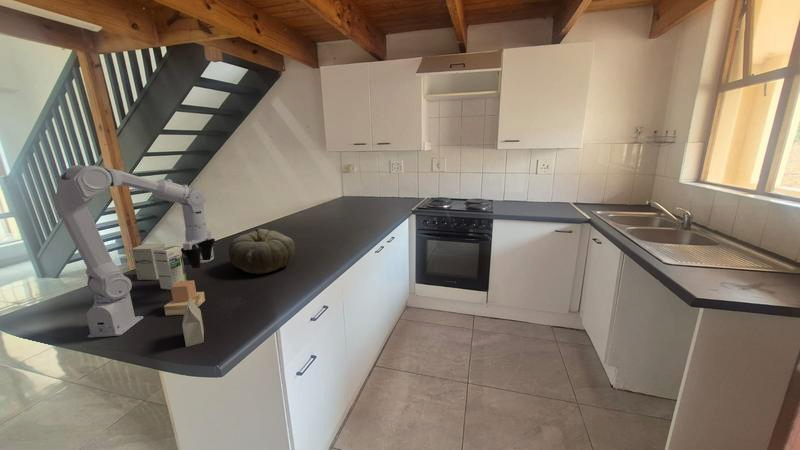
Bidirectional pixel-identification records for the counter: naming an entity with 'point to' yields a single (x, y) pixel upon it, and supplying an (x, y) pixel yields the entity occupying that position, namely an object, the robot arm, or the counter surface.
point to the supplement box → (146, 261)
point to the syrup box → (169, 266)
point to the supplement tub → (200, 254)
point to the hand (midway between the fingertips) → (201, 263)
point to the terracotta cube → (183, 291)
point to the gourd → (261, 251)
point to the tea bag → (192, 325)
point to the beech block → (183, 305)
